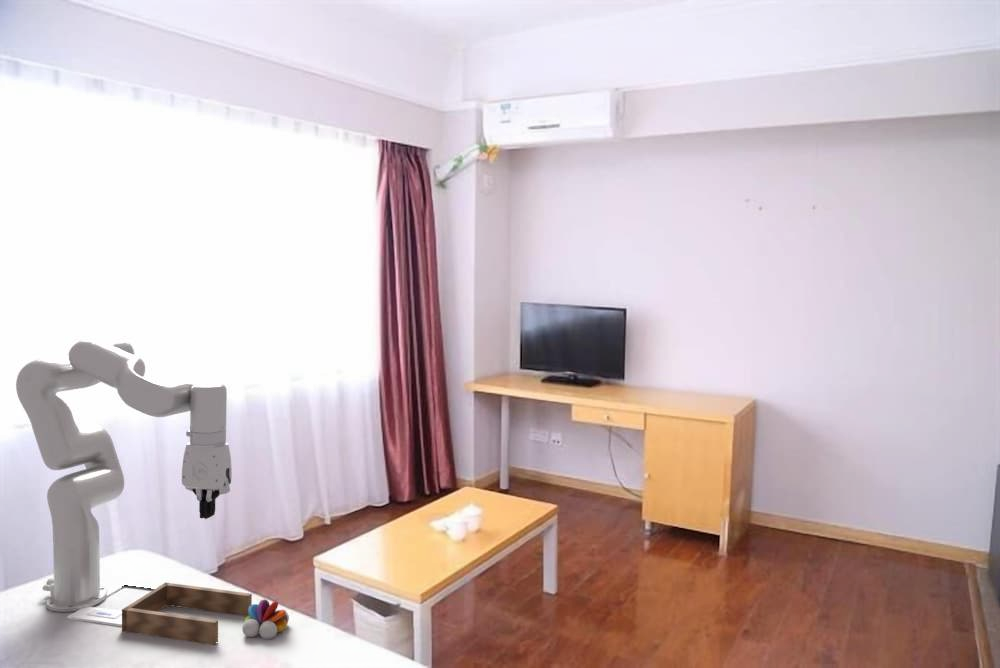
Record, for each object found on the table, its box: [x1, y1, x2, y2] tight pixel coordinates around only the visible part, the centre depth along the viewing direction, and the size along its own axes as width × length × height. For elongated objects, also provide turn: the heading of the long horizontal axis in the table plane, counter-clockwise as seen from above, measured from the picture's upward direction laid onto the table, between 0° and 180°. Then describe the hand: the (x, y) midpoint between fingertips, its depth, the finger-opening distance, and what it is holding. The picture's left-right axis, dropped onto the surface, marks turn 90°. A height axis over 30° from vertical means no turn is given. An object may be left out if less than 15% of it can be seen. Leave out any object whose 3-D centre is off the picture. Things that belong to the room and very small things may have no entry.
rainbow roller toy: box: [242, 599, 290, 640], centre depth 153 cm, size 8×10×7 cm
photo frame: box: [66, 583, 157, 628], centre depth 164 cm, size 15×1×18 cm
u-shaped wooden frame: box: [121, 582, 253, 645], centre depth 156 cm, size 23×14×5 cm, turn 79°
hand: (207, 516), depth 154 cm, fingers closed
